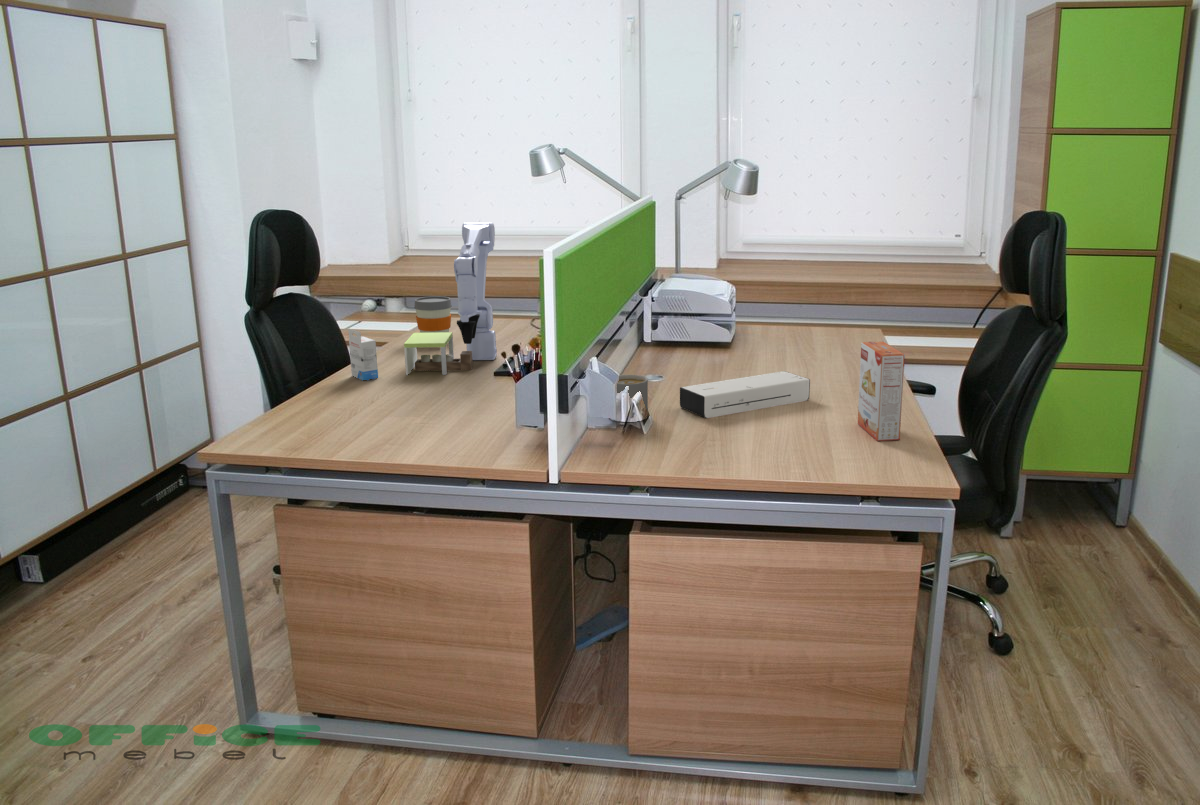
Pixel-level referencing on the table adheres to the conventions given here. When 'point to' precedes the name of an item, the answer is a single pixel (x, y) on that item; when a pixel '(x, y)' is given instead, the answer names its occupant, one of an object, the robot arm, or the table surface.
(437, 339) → the green top stool
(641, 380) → the coffee mug
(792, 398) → the laminator
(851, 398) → the table surface
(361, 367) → the ink box
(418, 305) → the reusable coffee cup
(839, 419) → the table surface
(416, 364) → the wooden slotted rack
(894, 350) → the cracker box
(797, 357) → the table surface
